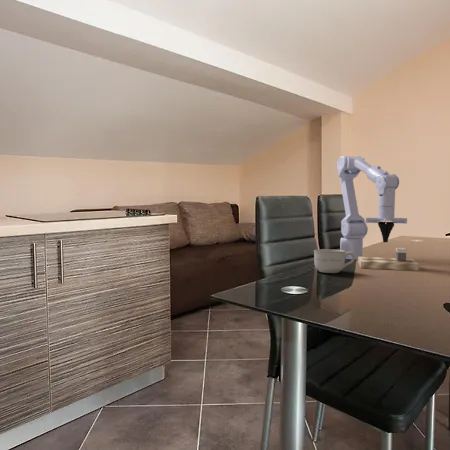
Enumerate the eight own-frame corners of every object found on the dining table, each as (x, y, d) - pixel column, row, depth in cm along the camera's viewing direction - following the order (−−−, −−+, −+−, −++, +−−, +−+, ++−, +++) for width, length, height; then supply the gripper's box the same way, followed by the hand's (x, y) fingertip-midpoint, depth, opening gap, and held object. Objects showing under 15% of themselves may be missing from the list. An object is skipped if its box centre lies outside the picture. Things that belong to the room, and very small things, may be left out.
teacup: (309, 273, 141) (310, 250, 140) (318, 268, 150) (318, 247, 149) (350, 277, 134) (351, 253, 133) (356, 271, 144) (357, 249, 143)
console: (360, 268, 150) (360, 261, 150) (357, 262, 162) (358, 256, 162) (418, 270, 146) (418, 263, 145) (411, 265, 157) (411, 258, 157)
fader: (397, 260, 151) (397, 249, 150) (395, 258, 155) (395, 247, 154) (406, 260, 150) (406, 249, 150) (403, 259, 154) (404, 248, 154)
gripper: (367, 206, 150) (366, 242, 151) (409, 206, 147) (407, 243, 148) (365, 205, 157) (364, 240, 158) (405, 206, 153) (404, 241, 154)
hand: (385, 242), depth 153 cm, fingers closed
